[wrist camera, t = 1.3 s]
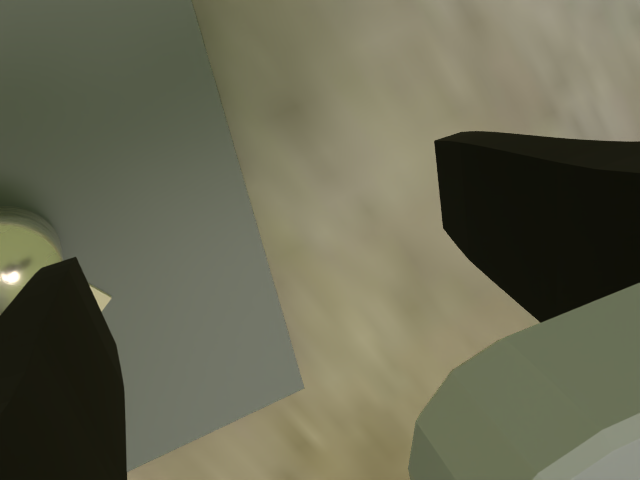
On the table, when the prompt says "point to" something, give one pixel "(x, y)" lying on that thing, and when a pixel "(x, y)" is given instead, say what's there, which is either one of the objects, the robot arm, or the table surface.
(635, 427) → the robot arm
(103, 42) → the dial plate
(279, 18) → the table surface
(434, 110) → the table surface
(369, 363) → the table surface
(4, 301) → the brass lever
